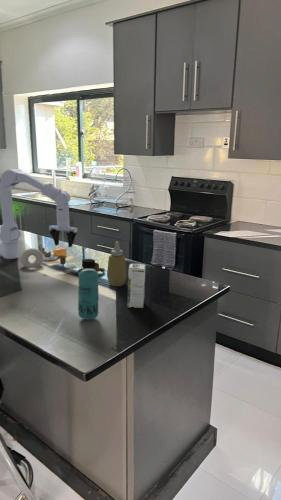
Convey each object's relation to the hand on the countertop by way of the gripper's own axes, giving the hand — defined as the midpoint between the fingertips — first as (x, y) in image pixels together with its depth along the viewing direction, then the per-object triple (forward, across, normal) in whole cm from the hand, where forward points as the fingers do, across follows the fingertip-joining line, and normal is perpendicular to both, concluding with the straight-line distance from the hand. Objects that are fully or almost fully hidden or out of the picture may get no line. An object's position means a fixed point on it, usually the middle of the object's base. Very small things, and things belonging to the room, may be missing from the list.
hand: (63, 245), depth 179 cm
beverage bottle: (+9, +43, -51) cm, 67 cm away
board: (+9, -7, +1) cm, 11 cm away
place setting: (+10, +16, -6) cm, 20 cm away
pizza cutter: (+7, -8, +1) cm, 11 cm away
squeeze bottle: (+9, +36, -16) cm, 40 cm away
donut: (+9, -7, -15) cm, 19 cm away
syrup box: (+9, +52, -33) cm, 62 cm away
